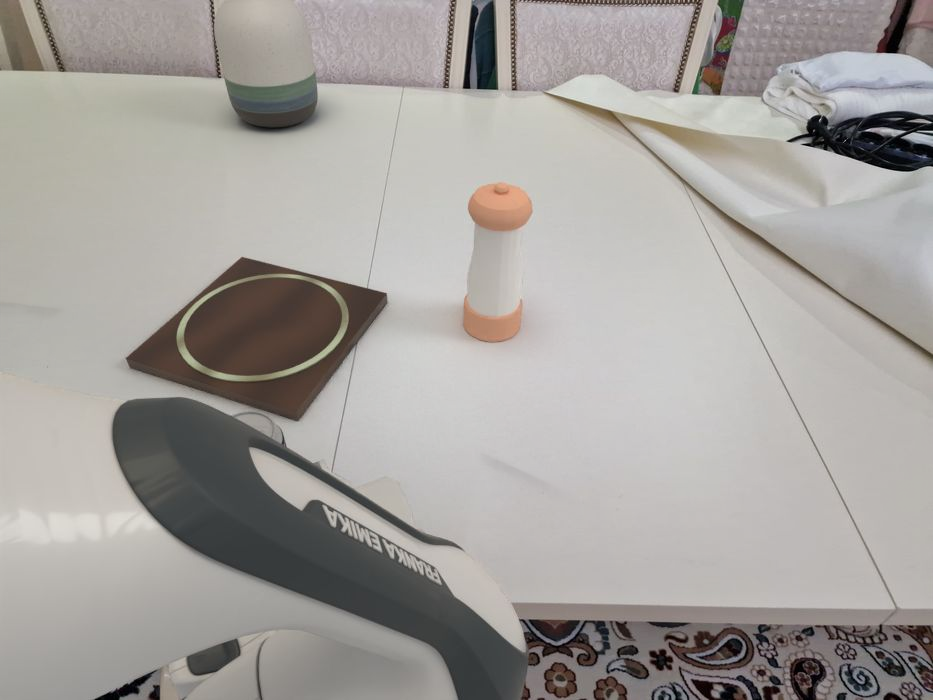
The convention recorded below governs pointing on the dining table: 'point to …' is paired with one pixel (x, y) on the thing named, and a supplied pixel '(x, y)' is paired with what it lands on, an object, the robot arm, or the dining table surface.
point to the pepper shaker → (496, 262)
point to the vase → (267, 61)
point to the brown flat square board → (262, 336)
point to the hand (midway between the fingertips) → (261, 487)
